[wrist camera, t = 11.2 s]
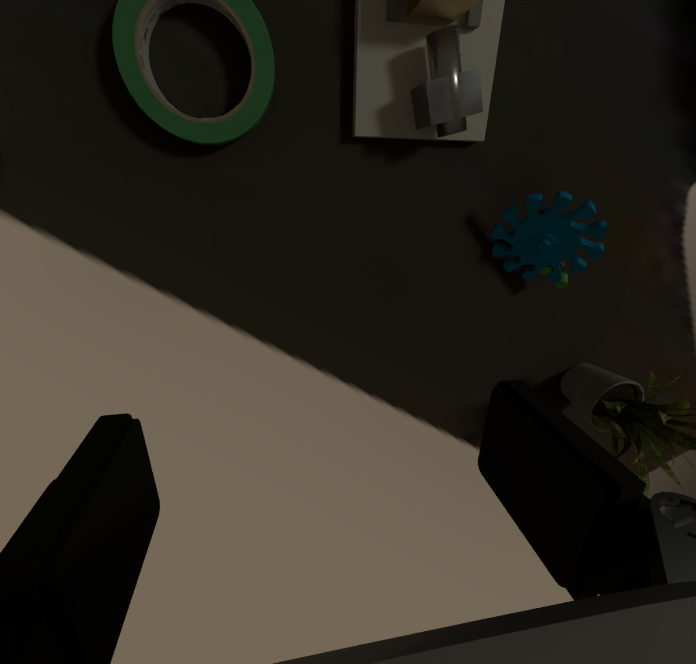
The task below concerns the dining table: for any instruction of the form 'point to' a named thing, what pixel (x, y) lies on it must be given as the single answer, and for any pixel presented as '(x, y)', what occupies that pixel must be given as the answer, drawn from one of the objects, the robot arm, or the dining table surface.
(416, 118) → the shaft
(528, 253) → the dark teal lobed piece
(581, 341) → the dining table surface
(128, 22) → the tape roll
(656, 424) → the house plant
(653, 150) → the dining table surface
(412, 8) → the tan box with knob
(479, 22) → the mounting base plate
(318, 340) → the dining table surface
